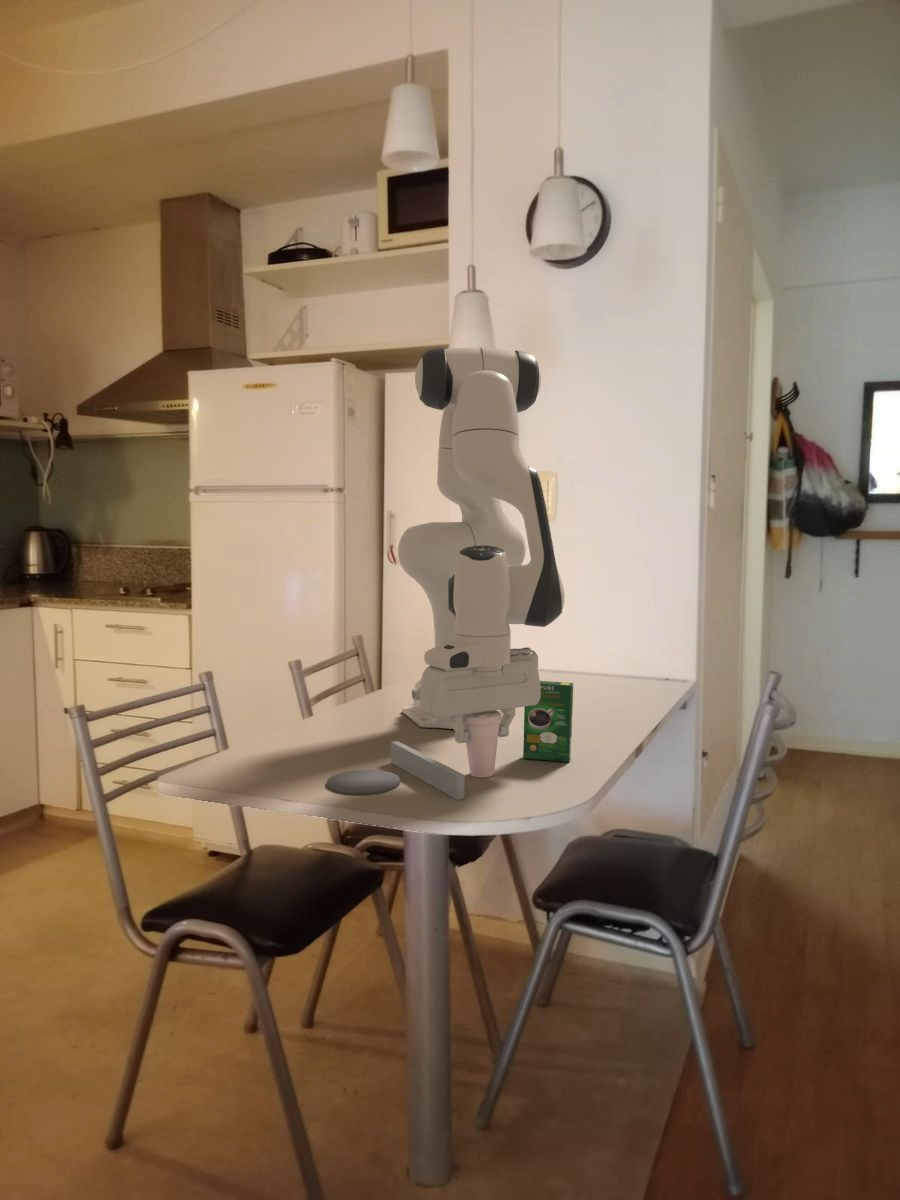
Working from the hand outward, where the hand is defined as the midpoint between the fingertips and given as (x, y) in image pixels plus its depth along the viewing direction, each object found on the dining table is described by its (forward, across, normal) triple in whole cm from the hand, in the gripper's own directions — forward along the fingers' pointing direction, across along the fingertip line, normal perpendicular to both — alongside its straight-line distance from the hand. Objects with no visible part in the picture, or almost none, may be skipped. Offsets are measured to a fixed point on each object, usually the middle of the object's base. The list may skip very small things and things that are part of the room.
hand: (482, 739), depth 141 cm
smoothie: (+6, 0, 0) cm, 6 cm away
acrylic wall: (+6, +9, -2) cm, 11 cm away
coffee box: (+6, -14, -2) cm, 15 cm away
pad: (+6, +18, -5) cm, 20 cm away
